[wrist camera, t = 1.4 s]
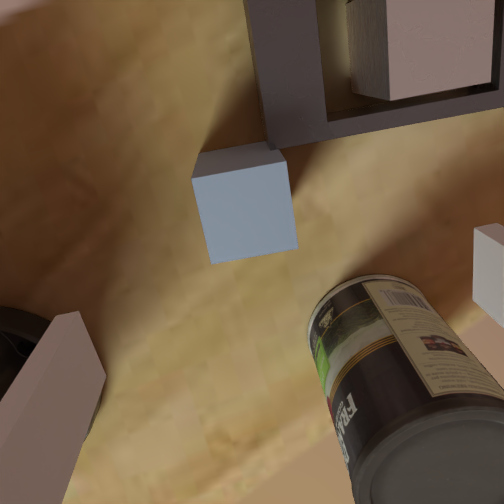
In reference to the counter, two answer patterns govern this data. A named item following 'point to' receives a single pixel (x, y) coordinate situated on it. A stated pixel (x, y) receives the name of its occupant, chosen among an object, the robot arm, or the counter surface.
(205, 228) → the blue-grey rectangular block
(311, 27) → the dark grey compartment tray
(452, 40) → the pale wooden cube
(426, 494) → the coffee can
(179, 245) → the counter surface
